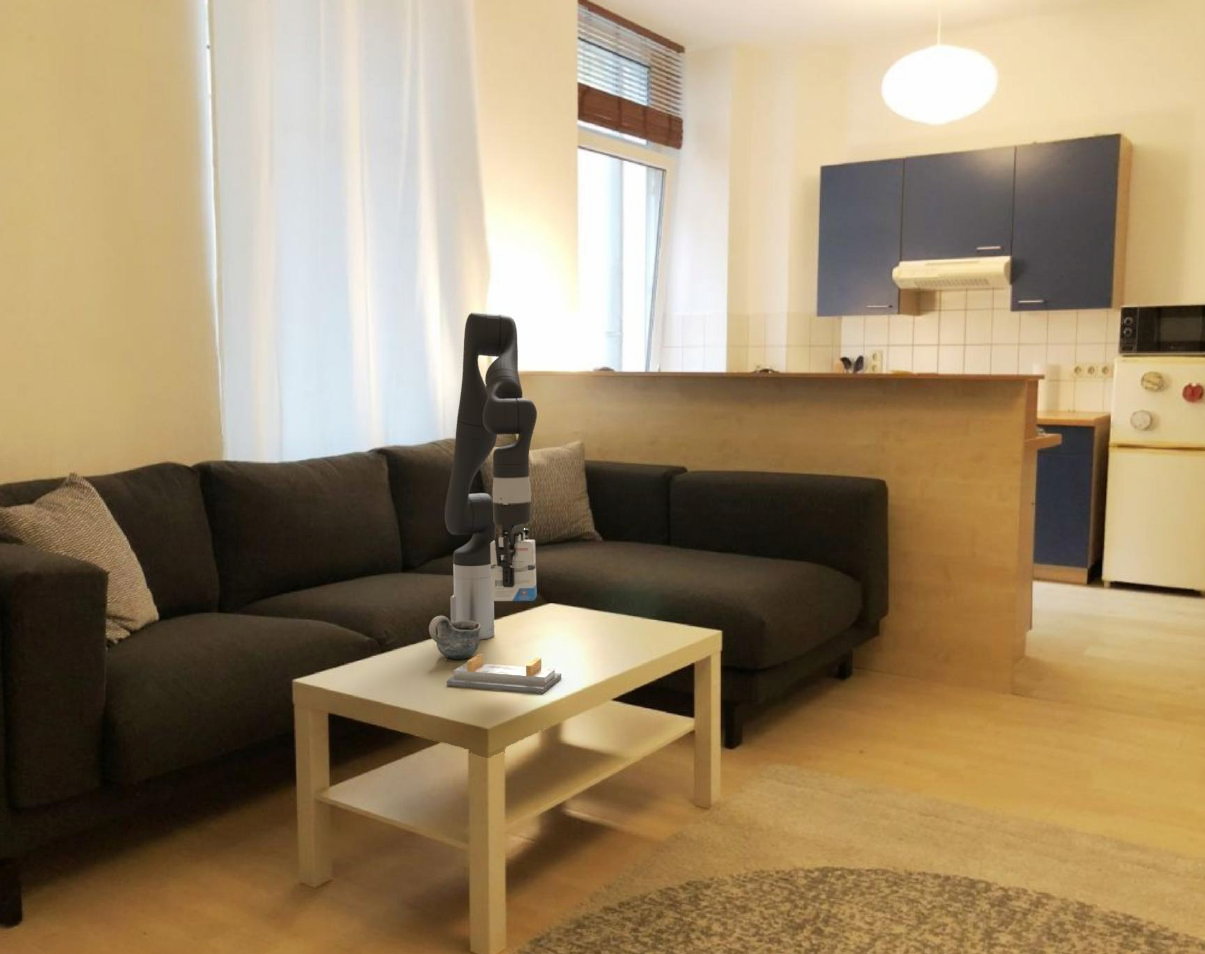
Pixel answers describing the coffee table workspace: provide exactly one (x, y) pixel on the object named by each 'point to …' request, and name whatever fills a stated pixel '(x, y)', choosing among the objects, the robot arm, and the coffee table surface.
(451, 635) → the mug
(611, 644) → the coffee table surface
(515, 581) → the ink box
